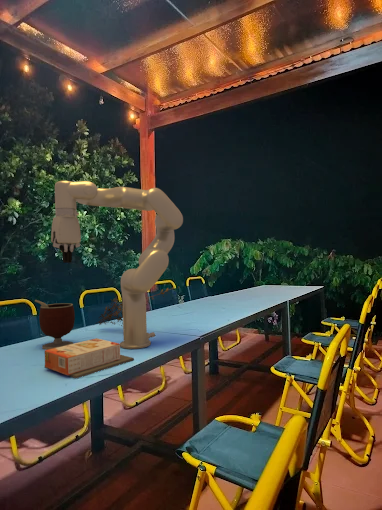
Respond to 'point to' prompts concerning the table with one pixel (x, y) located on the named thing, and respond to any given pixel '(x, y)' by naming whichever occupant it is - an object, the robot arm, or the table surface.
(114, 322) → the dried plant
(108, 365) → the mat
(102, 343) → the cracker box
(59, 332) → the mate gourd
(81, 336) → the table surface
